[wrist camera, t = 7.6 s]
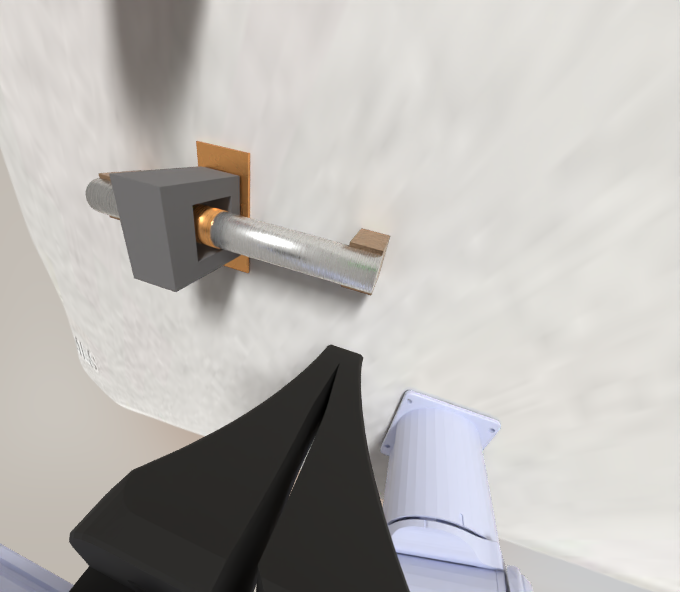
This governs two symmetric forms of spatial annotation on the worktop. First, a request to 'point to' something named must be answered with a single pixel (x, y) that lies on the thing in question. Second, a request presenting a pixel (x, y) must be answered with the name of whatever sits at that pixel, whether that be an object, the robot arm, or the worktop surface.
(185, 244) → the collar
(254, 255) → the rail
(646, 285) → the worktop surface
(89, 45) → the worktop surface
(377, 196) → the worktop surface
